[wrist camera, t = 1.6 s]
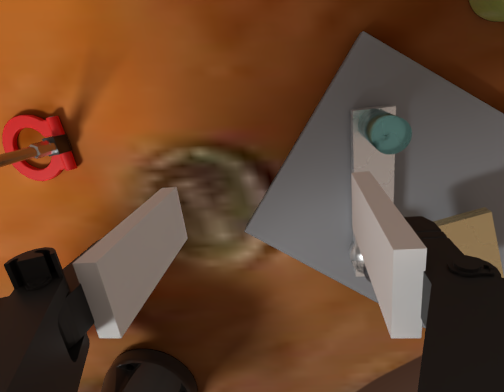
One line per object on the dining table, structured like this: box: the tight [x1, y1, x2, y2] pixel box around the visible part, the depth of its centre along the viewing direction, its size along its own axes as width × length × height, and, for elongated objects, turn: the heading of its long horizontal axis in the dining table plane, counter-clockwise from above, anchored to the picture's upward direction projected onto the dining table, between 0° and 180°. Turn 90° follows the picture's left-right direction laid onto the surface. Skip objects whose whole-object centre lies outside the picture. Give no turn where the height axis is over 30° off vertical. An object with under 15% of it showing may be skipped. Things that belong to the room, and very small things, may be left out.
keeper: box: [433, 207, 504, 278], centre depth 35 cm, size 5×8×4 cm, turn 23°
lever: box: [349, 105, 412, 282], centre depth 32 cm, size 19×5×8 cm, turn 8°
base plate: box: [244, 31, 504, 328], centre depth 37 cm, size 25×29×2 cm
